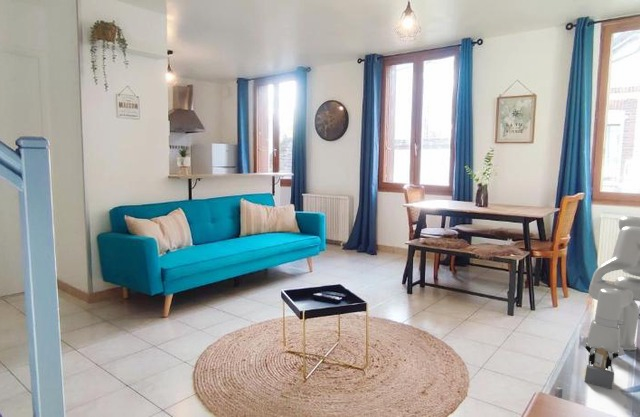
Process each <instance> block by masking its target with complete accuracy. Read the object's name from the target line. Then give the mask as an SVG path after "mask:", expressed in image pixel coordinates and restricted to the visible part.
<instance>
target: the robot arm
mask: <svg viewBox="0 0 640 417" xmlns="http://www.w3.org/2000/svg"><path fill="white" fill-rule="evenodd" d="M618 230H619V232H618V235H617V240H616V242H615V245H614V249H613V253H612V256H611V258H610V259H609V260H606V261H605V262H604V263H601V264H600V265H599V266H598V267H597V268H596V269H595V270H594V272H593V275H592V277H591V281H590V284H589V286H588V287H589V288H588V295H589V297H590V298H592V299H594V300H597V302H596V310H595V314H594V315H595V316H594V319H592V320H591V322H590V324H589V325H590V326H589V329H588V333H587V336H586V337H585V338H584V339H582V340H581V341H580V345H581V346H582V347H584V348H585V350H587V351H588V352H589V362H590V366H593V361H594V352H595V349H603V350H605V351H608V352H609V354H608V358H607V364H606V370H607V369H608V367H609V366H610V367H612V361H613V360H614V359H616V358H619V357H620V356H621V357H622V356H624V355H625V351H626V352H628V351H629V352H632V351H631V350H635V349H636V347H635V344H636V343H635V338H636V334H637V327H638V321H639V316H640V308H639V305H638V304H637V302H640V216H631V215H629V216H627V215H625V216H622V217H620V218H619V220H618ZM620 270H622V272H624V273H625V274H626V275H631V276H634V277H630V276H619V277H617V278H616V279H615V281H614V284H612V283H608V282H604V281H602V279H603V277H604V276H605V275H607V274H608V273H611V272H614V271H615V272H616V271H620ZM637 277H639V278H637ZM636 301H637V302H636ZM634 343H635V344H634ZM601 346H604V347H601ZM635 351H636V350H635Z"/></svg>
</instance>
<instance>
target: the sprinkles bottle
mask: <svg viewBox="0 0 640 417" xmlns="http://www.w3.org/2000/svg"><path fill="white" fill-rule="evenodd" d="M601 347H604V346H601ZM608 355H609V354H608V351H605V350H603V349H595V351H594V361H593V365H592V366H594V367H597V368H601V369H605V370H607V368H606V364H607V358H608Z"/></svg>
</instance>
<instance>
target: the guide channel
mask: <svg viewBox="0 0 640 417" xmlns="http://www.w3.org/2000/svg"><path fill="white" fill-rule="evenodd" d="M589 357H590V353H589V352H588V351H587V349H585V363H584V382H585V383H588V384H592V385H595V386H598V387H603V388H606V389H610V390H612V389H613V382H614V379H615V378H614V377H615V372H614V371H612V368H611V367H612V366H611V367H610V366H609V367H608V369H607V368H606V369H601V368H597V367H594V366H593V365H591V364H590V363H589V362H590V361H589ZM589 364H590V365H589Z"/></svg>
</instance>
